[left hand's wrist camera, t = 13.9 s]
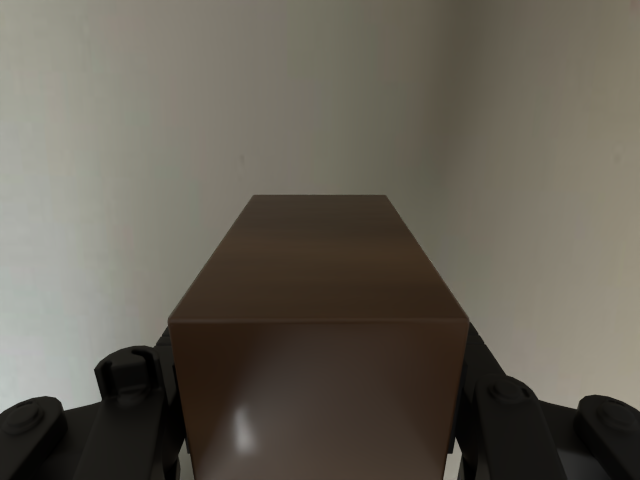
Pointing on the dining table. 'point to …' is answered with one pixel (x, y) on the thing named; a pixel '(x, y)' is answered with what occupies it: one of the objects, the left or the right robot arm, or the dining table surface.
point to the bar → (318, 347)
